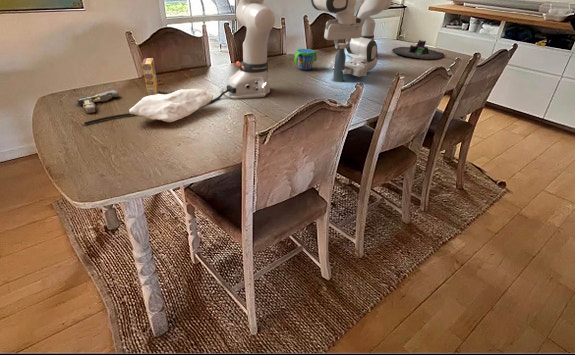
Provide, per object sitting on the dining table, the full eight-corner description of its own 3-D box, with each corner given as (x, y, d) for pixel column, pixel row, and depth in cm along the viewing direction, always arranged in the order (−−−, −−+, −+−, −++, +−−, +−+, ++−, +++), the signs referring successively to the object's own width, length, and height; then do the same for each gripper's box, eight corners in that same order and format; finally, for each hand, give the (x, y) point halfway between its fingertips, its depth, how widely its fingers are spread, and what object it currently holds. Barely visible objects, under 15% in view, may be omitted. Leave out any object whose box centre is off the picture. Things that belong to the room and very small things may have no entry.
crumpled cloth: (117, 110, 146) (113, 90, 140) (195, 92, 166) (194, 73, 160) (143, 139, 134) (140, 118, 128) (223, 116, 154) (224, 96, 148)
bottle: (340, 78, 198) (344, 44, 189) (344, 81, 194) (348, 47, 184) (331, 78, 197) (334, 44, 188) (335, 81, 193) (338, 47, 183)
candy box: (157, 97, 164) (152, 63, 155) (147, 98, 163) (141, 63, 155) (158, 91, 171) (153, 57, 163) (149, 91, 170) (143, 58, 162)
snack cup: (310, 64, 218) (311, 47, 212) (321, 69, 211) (322, 51, 205) (288, 68, 210) (289, 50, 205) (299, 73, 203) (300, 54, 198)
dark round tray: (454, 55, 249) (457, 41, 244) (422, 61, 231) (424, 46, 227) (413, 47, 273) (415, 35, 269) (381, 52, 256) (382, 39, 252)
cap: (336, 46, 188) (337, 43, 187) (344, 46, 188) (344, 43, 187) (338, 48, 185) (338, 44, 184) (346, 48, 185) (346, 45, 184)
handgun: (128, 97, 156) (111, 87, 164) (86, 107, 144) (70, 97, 152) (129, 103, 157) (113, 94, 165) (88, 114, 146) (72, 103, 154)
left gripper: (329, 21, 173) (327, 50, 180) (365, 19, 180) (361, 48, 188) (323, 18, 178) (320, 47, 185) (358, 17, 185) (354, 45, 193)
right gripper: (341, 56, 205) (324, 60, 197) (370, 64, 192) (353, 69, 184) (339, 67, 208) (323, 71, 200) (368, 76, 196) (352, 81, 188)
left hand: (341, 48), depth 187 cm, fingers closed on cap, 4 cm apart
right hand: (338, 70), depth 192 cm, fingers closed on bottle, 5 cm apart
